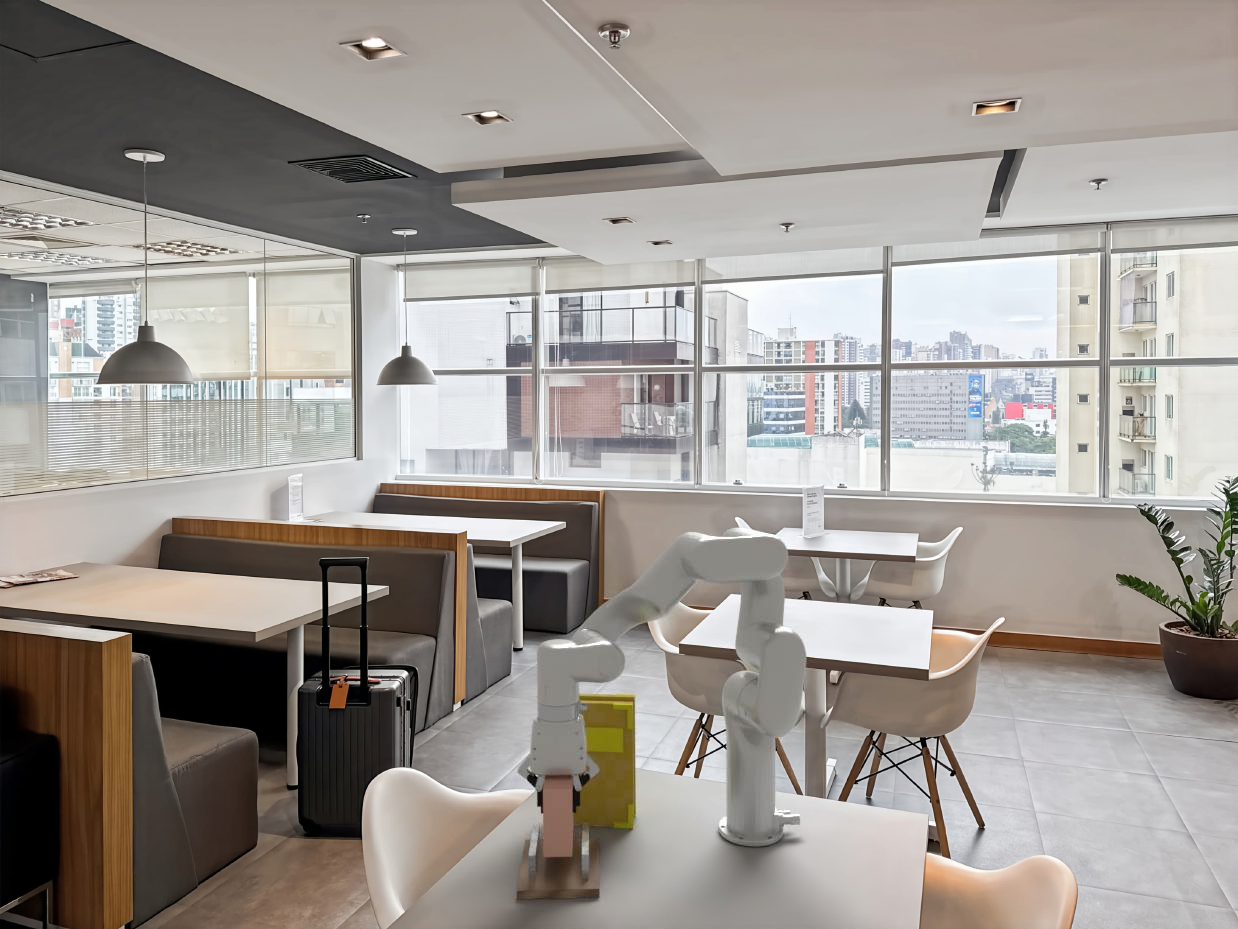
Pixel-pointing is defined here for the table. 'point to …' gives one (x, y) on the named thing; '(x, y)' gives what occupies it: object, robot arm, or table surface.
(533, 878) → the bookends
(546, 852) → the small book
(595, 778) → the book
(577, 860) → the shelf board
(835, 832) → the table surface
